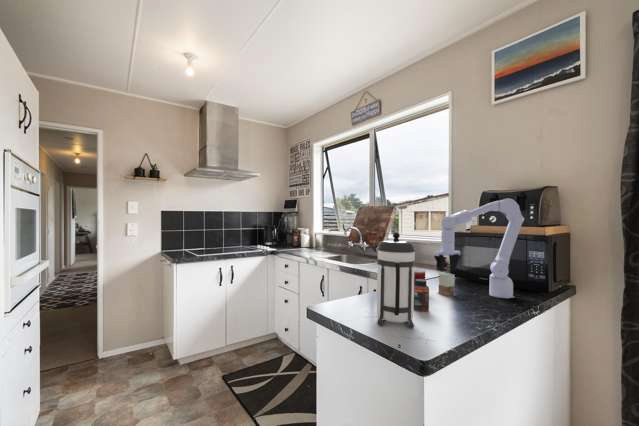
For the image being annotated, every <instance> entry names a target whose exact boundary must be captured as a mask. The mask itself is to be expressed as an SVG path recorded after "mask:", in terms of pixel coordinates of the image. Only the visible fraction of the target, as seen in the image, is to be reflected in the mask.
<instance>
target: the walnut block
mask: <svg viewBox="0 0 639 426" xmlns="http://www.w3.org/2000/svg"><path fill="white" fill-rule="evenodd" d="M438 293H439V294H438V295H440V294H442V295H441V296H443V295H445V296H444V297H446V296H447V297H450V296H449V295H455V285H454V286H451V287H446V286H442V285H439V284H438Z"/></svg>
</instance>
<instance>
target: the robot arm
mask: <svg viewBox="0 0 639 426" xmlns="http://www.w3.org/2000/svg"><path fill="white" fill-rule="evenodd" d="M488 212H500V213H501V214H503V215H504V216H505V217H506V219H507V221H508V223H507V226H506V230H505V232H504V234H503V238H502V241H501V244H500V246H499V249H498V252H497V254H496V256H495V258H494V260H493V261H492V262H491V263H490V266H489V268H490V272H491V274H489V285H488V287H489V289H488V292H489V293H488V295H489V296H492V297H495V298H500V299H501V298H502V299H510V298H511V299H512V298H514V282H513V280H512V279H511V278H510V277H509V276H508V275H509V272H510V271H509V264H510V260H511V259H510V258H511V255H512V253H513V250H514V248H515V244H516V241H517V239H518V236H519V233H520V231H521V228H522V225H523V222H524V217H523V215H522V212H521V209H520V205H519V204H518V202H517V201H515V200H514V199H513V198H508V197H507V198H503V199H500V200H496V201H492V202H489V203H486V204H484V205H481V206H478V207H477V208H474V209H472V210H467V209H464V210H463V209H460V210H459V212H456V213H453V214H452V213H451V214H449V216H445V217H444V218H443V219H442V220H441V226H442V227H441V239H440V240H441V242H440V243H441V246H440V247H441V248H440V250H437V251H435V250H434V256H433V257H434V259H435V261H436V263H437V268H438V270H439V272H444V270H445V264H446V259H447V257H446V256H448V258H449V262H450V263H449V264H450V270H451V271H456V270H457V266H458V263H459V261H460V260H461V258H462V255H461V251H460V250H455V226H461V225H464V224H466V223H470V222H471V221H472V220H473V218H474V217H477V216H480V215H483V214H486V213H488Z"/></svg>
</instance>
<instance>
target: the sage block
mask: <svg viewBox="0 0 639 426" xmlns="http://www.w3.org/2000/svg"><path fill="white" fill-rule="evenodd" d="M438 275H439V276H438V280H439V281H438V286H439V285H442V286H446V287H451V286H454V287H455V274H453V273H448V272H443V273H442V272H440V273H438Z"/></svg>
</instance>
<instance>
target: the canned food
mask: <svg viewBox="0 0 639 426" xmlns="http://www.w3.org/2000/svg"><path fill="white" fill-rule="evenodd" d="M416 279H424V280H426V270H425V269H421V268H414V285H415V284H416V283H415V280H416Z"/></svg>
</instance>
